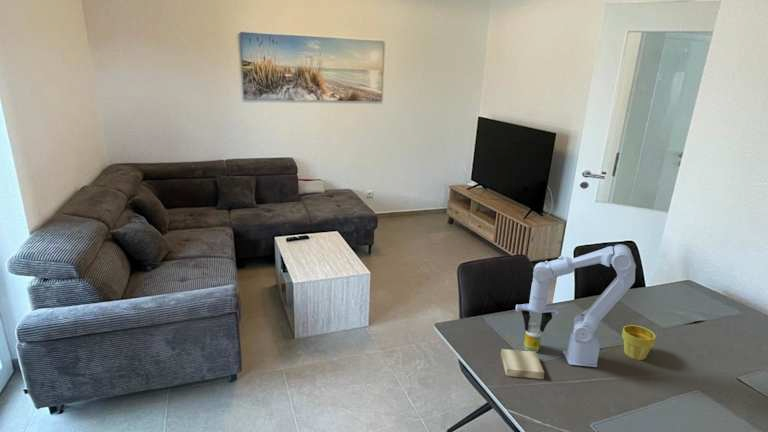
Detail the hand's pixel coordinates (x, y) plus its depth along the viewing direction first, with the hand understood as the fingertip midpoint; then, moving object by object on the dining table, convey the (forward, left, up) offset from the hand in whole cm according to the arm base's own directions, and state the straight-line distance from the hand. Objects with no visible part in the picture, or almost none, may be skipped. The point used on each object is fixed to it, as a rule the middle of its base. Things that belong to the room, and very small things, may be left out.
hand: (533, 330), depth 161 cm
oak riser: (+6, +12, -8) cm, 16 cm away
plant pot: (-37, -1, -8) cm, 38 cm away
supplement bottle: (0, 0, -8) cm, 8 cm away
